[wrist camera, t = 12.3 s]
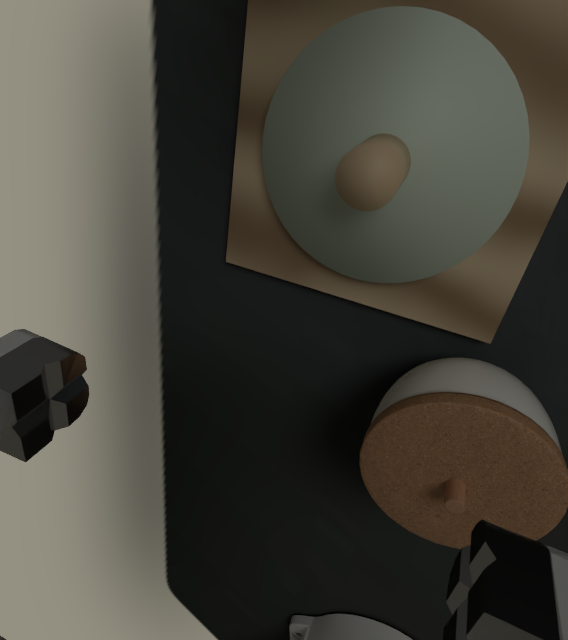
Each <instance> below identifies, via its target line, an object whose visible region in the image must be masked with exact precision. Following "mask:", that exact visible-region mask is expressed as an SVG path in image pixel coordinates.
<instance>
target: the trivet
mask: <svg viewBox="0 0 568 640" xmlns="http://www.w3.org/2000/svg"><path fill="white" fill-rule="evenodd" d="M394 6H409V7H422V8H426V9H431V10H435V11H440V12H442V13H445V14H447V15H450V16H452V17H455V18H457V19H459V20H461V21H463V22H464V23H466V24H468V25H469V26H471V27H472V28H474V29H476V30H477V31H478V32H479V33H481V34H482V35H483V36H484V37H485V38H486V39H488V40H489V41H490V42H491V43H492V44H493V45H494V46H495V48H496V49H497V50H498V51H499V52H500V54H501V55H502V56H503V57H504V58H505V60H506V61H507V63H508V65H509V67H510V68H511V70H512V72H513V73H514V75H515V77H516V79H517V82H518V84H519V87H520V89H521V92H522V94H523V97H524V101H525V106H526V110H527V114H528V123H529V135H530V138H529V155H528V161H527V166H526V171H525V176H524V179H523V182H522V185H521V188H520V191H519V194H518V196H517V198H516V200H515V202H514V204H513V206H512V208H511V210H510V212H509V213H508V215H507V216H506V218H505V219H504V221H503V222H502V224H501V225H500V227H499V228H498V229H497V230H496V232H495V233H494V234H493V235H492V236H491V237H490V239H489V240H488V241H487V242H486V243H485V244H484V245H482V246H481V247H480V248H479V249H478V250H477V251H476V252H475V253H473V254H472V255H471V256H469V257H468V258H466V259H465V260H464V261H462V262H461V263H459V264H457V265H455V266H454V267H452V268H450V269H448V270H446V271H444V272H441V273H439V274H436V275H434V276H431V277H428V278H424V279H420V280H416V281H411V282H403V283H376V282H367V281H363V280H359V279H354V278H351V277H348V276H346V275H343V274H340V273H338V272H336V271H334V270H332V269H330V268H328V267H326V266H325V265H323V264H322V263H320V262H318V261H317V260H315V259H314V258H313V257H312V256H310V255H309V254H308V253H307V252H306V251H304V250H303V249H302V248H301V247H300V245H299V244H298V243H297V242H296V241H295V240H294V239H293V238H292V237H291V235H290V234H289V233H288V231H287V230H286V229H285V227H284V226H283V224H282V222H281V220H280V219H279V217H278V215H277V213H276V211H275V209H274V206H273V204H272V202H271V199H270V196H269V193H268V190H267V186H266V182H265V176H264V171H263V159H262V144H263V133H264V127H265V120H266V117H267V113H268V110H269V106H270V103H271V100H272V98H273V96H274V93H275V91H276V88H277V86H278V84H279V83H280V81H281V79H282V77H283V76H284V74H285V72H286V70H287V69H288V68H289V66H290V65H291V64H292V62H293V61H294V60H295V58H296V57H297V56H298V55H299V54H300V53H301V52H302V51H303V50H304V49H305V48H306V46H307V45H308V44H309V43H310V42H311V41H313V40H314V39H315V38H317V37H318V36H319V35H320V34H322V33H323V32H324V31H325V30H327V29H329V28H330V27H332V26H334V25H335V24H337V23H339V22H341V21H342V20H344V19H347V18H349V17H352V16H354V15H357V14H359V13H362V12H366V11H370V10H374V9H378V8H384V7H394ZM567 181H568V0H248V9H247V20H246V32H245V44H244V55H243V67H242V79H241V90H240V102H239V114H238V125H237V137H236V149H235V160H234V172H233V184H232V195H231V207H230V219H229V230H228V242H227V254H226V262H228V263H232V264H235V265H238V266H241V267H245V268H248V269H251V270H254V271H257V272H261V273H264V274H267V275H270V276H274V277H277V278H280V279H283V280H286V281H290V282H293V283H296V284H299V285H303V286H306V287H309V288H312V289H316V290H319V291H322V292H325V293H328V294H332V295H335V296H338V297H341V298H345V299H348V300H351V301H354V302H357V303H361V304H364V305H367V306H370V307H374V308H377V309H380V310H383V311H386V312H390V313H393V314H396V315H399V316H403V317H406V318H409V319H412V320H416V321H419V322H422V323H425V324H428V325H432V326H435V327H438V328H441V329H445V330H448V331H451V332H454V333H457V334H461V335H464V336H467V337H470V338H474V339H477V340H480V341H483V342H486V343H491V341H492V339H493V337H494V335H495V333H496V330H497V328H498V326H499V324H500V322H501V320H502V318H503V316H504V314H505V311H506V309H507V307H508V305H509V303H510V301H511V299H512V297H513V295H514V293H515V290H516V288H517V286H518V284H519V282H520V280H521V278H522V276H523V274H524V272H525V269H526V267H527V265H528V263H529V261H530V259H531V257H532V255H533V253H534V251H535V248H536V246H537V244H538V242H539V240H540V238H541V236H542V234H543V232H544V229H545V227H546V225H547V223H548V221H549V219H550V217H551V215H552V213H553V211H554V208H555V206H556V204H557V202H558V200H559V198H560V196H561V194H562V192H563V190H564V187H565V185H566V183H567Z"/></svg>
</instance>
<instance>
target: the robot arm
mask: <svg viewBox="0 0 568 640" xmlns="http://www.w3.org/2000/svg"><path fill="white" fill-rule="evenodd" d="M86 370H87V368H86V361H85V357H84V356H83V355H81V354H79V353H78V352H75V351H73V350H71V349H69V348H66V347H64V346H62V345H59V344H58V343H55V342H53V341H51V340H48V339H46V338H44V337H41V336H39V335H37V334H34V333H32V332H30V331H27V330H25V329H21V330H14V331H12V332H10V333H8V334H7V335H5V336H3V337H1V338H0V451H2V452H5V453H7V454H9V455H11V456H13V457H16V458H18V459H20V460H22V461H24V462H27V461H28V460H29V459H30V458H31V457H33V456H34V455H35V454H36V453H38V452H39V451H40V450H41V449H42V448H43V447H45V446H46V445H47V444H48V443H49V442H51V441H52V438H53V435H54V431H55V430H57V429H61V428H65V427H68V426H70V425H71V424H72V423H73V422H74V421H75V420H76V419H77V418H79V416H80V415H81V413H82V412H83V410H84V409H85V407H86V405H87V402H88V397H89V387H88V384H87V383H86V381H85V379H84V378H83V376H82V374H83V373H84V372H85V371H86ZM446 602H447V604H448V606H449V608H450V611H451V613H452V617H451V618H450V620H449V621H448V623H447V624H446V626H445V627H444V633H443V640H568V554H567V553H564V552H562V551H559V550H557V549H554V548H552V547H549V546H547V545H543V544H542V543H540V542H538V541H535V540H533V539H530V538H528V537H525V536H523V535H520V534H518V533H515V532H513V531H510V530H508V529H505V528H503V527H500V526H498V525H495V524H493V523H490V522H488V521H485V520H483V519H482V520H480V521H479V522H478V523H477V524H476V525H475V527H474V528H473V530H472V532H471V545H469V546H465V547H462V548H461V550H460V552H459V553H458V555H457V557H456V559H455V562H454V565H453V567H452V570H451V573H450V578H449V583H448V590H447V599H446ZM289 631H290V640H412V639H411V638H409V637H408V636H406V635H405V634H403V633H401V632H399V631H398V630H396V629H394V628H392V627H390V626H387V625H385V624H383V623H380V622H377V621H375V620H372V619H368V618H365V617H361V616H356V615H349V614H329V615H324V616H320V617H310V616H303V615H294V616H292V617H291V621H290V625H289ZM0 640H6V639H4V638H3V637H1V636H0Z"/></svg>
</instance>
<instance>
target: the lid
mask: <svg viewBox="0 0 568 640" xmlns="http://www.w3.org/2000/svg"><path fill="white" fill-rule="evenodd" d="M529 138H530V135H529V123H528V114H527V110H526V106H525V101H524V97H523V94H522V92H521V89H520V87H519V84H518V82H517V79H516V77H515V75H514V73H513V72H512V70H511V68H510V67H509V65H508V63H507V61H506V60H505V58H504V57H503V56H502V55H501V54H500V52H499V51H498V50H497V49H496V48H495V46H494V45H493V44H492V43H491V42H490V41H489V40H488V39H486V38H485V37H484V36H483V35H482V34H481V33H479V32H478V31H477V30H476V29H474V28H472V27H471V26H469V25H468V24H466V23H464V22H463V21H461V20H459V19H457V18H455V17H452V16H450V15H447V14H445V13H442V12H440V11H435V10H431V9H426V8H422V7H409V6H394V7H384V8H378V9H374V10H370V11H366V12H362V13H359V14H357V15H354V16H352V17H349V18H347V19H344V20H342V21H341V22H339V23H337V24H335V25H334V26H332V27H330V28H329V29H327V30H325V31H324V32H323V33H322V34H320V35H319V36H318V37H317V38H315V39H314V40H313V41H311V42H310V43H309V44H308V45H307V46H306V48H305V49H304V50H303V51H302V52H301V53H300V54H299V55H298V56H297V57H296V58H295V60H294V61H293V62H292V64H291V65H290V66H289V68H288V69H287V70H286V72H285V74H284V76H283V77H282V79H281V81H280V83H279V84H278V86H277V88H276V91H275V93H274V96H273V98H272V100H271V103H270V106H269V110H268V113H267V117H266V120H265V127H264V133H263V144H262V159H263V171H264V176H265V182H266V186H267V190H268V193H269V196H270V199H271V202H272V204H273V206H274V209H275V211H276V213H277V215H278V217H279V219H280V220H281V222H282V224H283V226H284V227H285V229H286V230H287V231H288V233H289V234H290V235H291V237H292V238H293V239H294V240H295V241H296V242H297V243H298V244H299V245H300V247H301V248H302V249H303V250H304V251H306V252H307V253H308V254H309V255H310V256H312V257H313V258H314V259H315V260H317V261H318V262H320V263H322V264H323V265H325V266H326V267H328V268H330V269H332V270H334V271H336V272H338V273H340V274H343V275H346V276H348V277H351V278H354V279H359V280H363V281H367V282H376V283H403V282H411V281H416V280H420V279H424V278H428V277H431V276H434V275H436V274H439V273H441V272H444V271H446V270H448V269H450V268H452V267H454V266H455V265H457V264H459V263H461V262H462V261H464V260H465V259H466V258H468V257H469V256H471V255H472V254H473V253H475V252H476V251H477V250H478V249H479V248H480V247H481V246H482V245H484V244H485V243H486V242H487V241H488V240H489V239H490V237H491V236H492V235H493V234H494V233H495V232H496V230H497V229H498V228H499V227H500V225H501V224H502V222H503V221H504V219H505V218H506V216H507V215H508V213H509V212H510V210H511V208H512V206H513V204H514V202H515V200H516V198H517V196H518V194H519V191H520V188H521V185H522V182H523V179H524V176H525V171H526V166H527V161H528V155H529Z"/></svg>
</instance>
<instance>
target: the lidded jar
mask: <svg viewBox="0 0 568 640" xmlns="http://www.w3.org/2000/svg"><path fill="white" fill-rule="evenodd" d="M359 464H360V472H361V475H362V478H363V481H364V484H365V486H366V488H367V490H368V492H369V493H370V495H371V497H372V498H373V499H374V501H375V502H376V503H377V505H378V506H379V507H380V508H381V509H382V510H383V511H384V512H385V513H386V514H387V515H388V516H389V517H390V518H392V519H393V520H394V521H395V522H397V523H398V524H400V525H401V526H403V527H404V528H406V529H407V530H409V531H411V532H413V533H415V534H417V535H418V536H420V537H423V538H425V539H427V540H430V541H432V542H435V543H438V544H442V545H445V546H449V547H453V548H458V549H461V548H462V547H465V546H469V545H471V532H472V530H473V528H474V527H475V525H476V524H477V523H478V522H479V521H480V520H482V519H483V520H485V521H488V522H490V523H493V524H495V525H498V526H500V527H503V528H505V529H508V530H510V531H513V532H515V533H518V534H520V535H523V536H525V537H528V538H530V539H533V540H535V541H536V540H538V539H539V538H541V537H543V536H544V535H546V534H548V533H549V532H550V531H551V530H552V529H553V528H554V527H555V526H556V525H557V524H558V523H559V522H560V520H561V519H562V517H563V516H564V515H565V513H566V510H567V507H568V469H567V466H566V463H565V461H564V458H563V455H562V452H561V448H560V444H559V441H558V438H557V435H556V432H555V430H554V427H553V425H552V422H551V420H550V418H549V416H548V414H547V413H546V411H545V409H544V408H543V406H542V405H541V403H540V401H539V400H538V398H537V397H536V396H535V395H534V394H533V392H532V391H531V390H530V389H529V388H528V387H527V386H526V385H525V384H523V383H522V382H521V381H520V380H519V379H517V378H516V377H515V376H514V375H512V374H510V373H509V372H507V371H505V370H504V369H502V368H499V367H497V366H495V365H492V364H490V363H487V362H483V361H480V360H475V359H469V358H443V359H438V360H434V361H429V362H426V363H424V364H421V365H419V366H417V367H415V368H413V369H412V370H410V371H408V372H407V373H405V374H404V375H403V376H402V377H400V378H399V379H398V380H397V381H396V382H395V383H394V384H393V385H392V387H391V388H390V389H389V390H388V391H387V393H386V394H385V395H384V397H383V399H382V401H381V402H380V404H379V406H378V408H377V410H376V412H375V414H374V416H373V419H372V421H371V425H370V427H369V428H368V430H367V432H366V434H365V437H364V440H363V443H362V446H361V450H360V458H359Z"/></svg>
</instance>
